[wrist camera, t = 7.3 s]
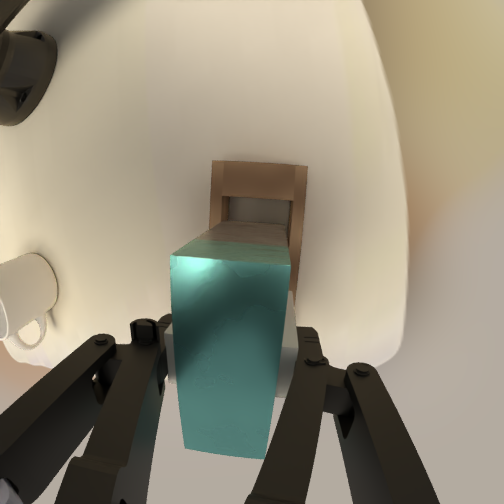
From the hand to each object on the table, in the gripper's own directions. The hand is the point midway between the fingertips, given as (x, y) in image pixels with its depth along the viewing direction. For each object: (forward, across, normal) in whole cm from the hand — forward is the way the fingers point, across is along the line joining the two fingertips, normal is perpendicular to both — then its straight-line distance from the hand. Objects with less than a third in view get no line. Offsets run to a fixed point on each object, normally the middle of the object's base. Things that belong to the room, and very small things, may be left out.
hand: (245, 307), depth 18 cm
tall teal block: (+3, 0, 0) cm, 3 cm away
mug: (+12, -30, -8) cm, 34 cm away
